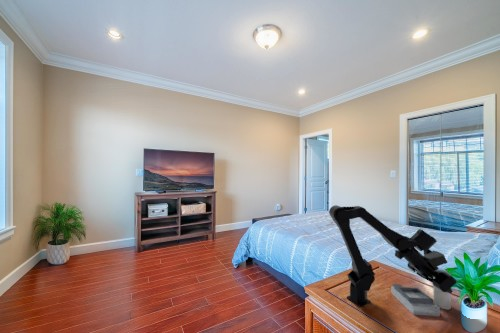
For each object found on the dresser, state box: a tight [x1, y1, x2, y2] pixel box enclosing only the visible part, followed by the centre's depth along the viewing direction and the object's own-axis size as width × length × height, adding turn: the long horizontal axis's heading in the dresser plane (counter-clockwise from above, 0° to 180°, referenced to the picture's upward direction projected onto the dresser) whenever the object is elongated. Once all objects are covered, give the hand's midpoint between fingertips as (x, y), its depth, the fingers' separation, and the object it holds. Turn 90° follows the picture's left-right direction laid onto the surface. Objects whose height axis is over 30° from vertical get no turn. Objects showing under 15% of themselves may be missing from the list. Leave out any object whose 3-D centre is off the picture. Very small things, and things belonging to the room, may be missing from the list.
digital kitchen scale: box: [390, 283, 441, 317], centre depth 84 cm, size 9×14×4 cm, turn 175°
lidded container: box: [432, 267, 452, 310], centre depth 83 cm, size 5×5×13 cm
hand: (445, 288), depth 83 cm, fingers closed on lidded container, 5 cm apart
